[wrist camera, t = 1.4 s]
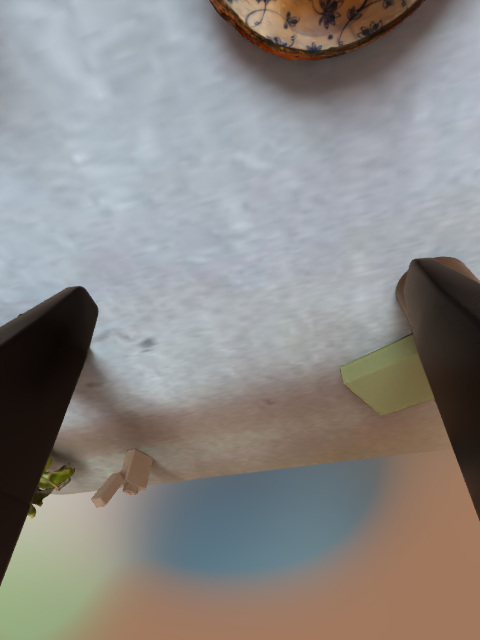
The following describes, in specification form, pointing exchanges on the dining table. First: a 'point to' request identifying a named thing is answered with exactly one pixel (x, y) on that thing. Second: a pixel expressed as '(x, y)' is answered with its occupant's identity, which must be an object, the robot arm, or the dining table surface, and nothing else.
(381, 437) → the dining table surface
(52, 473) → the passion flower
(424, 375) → the riser block
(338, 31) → the wood slice pumpkin decoration
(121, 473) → the lighter
